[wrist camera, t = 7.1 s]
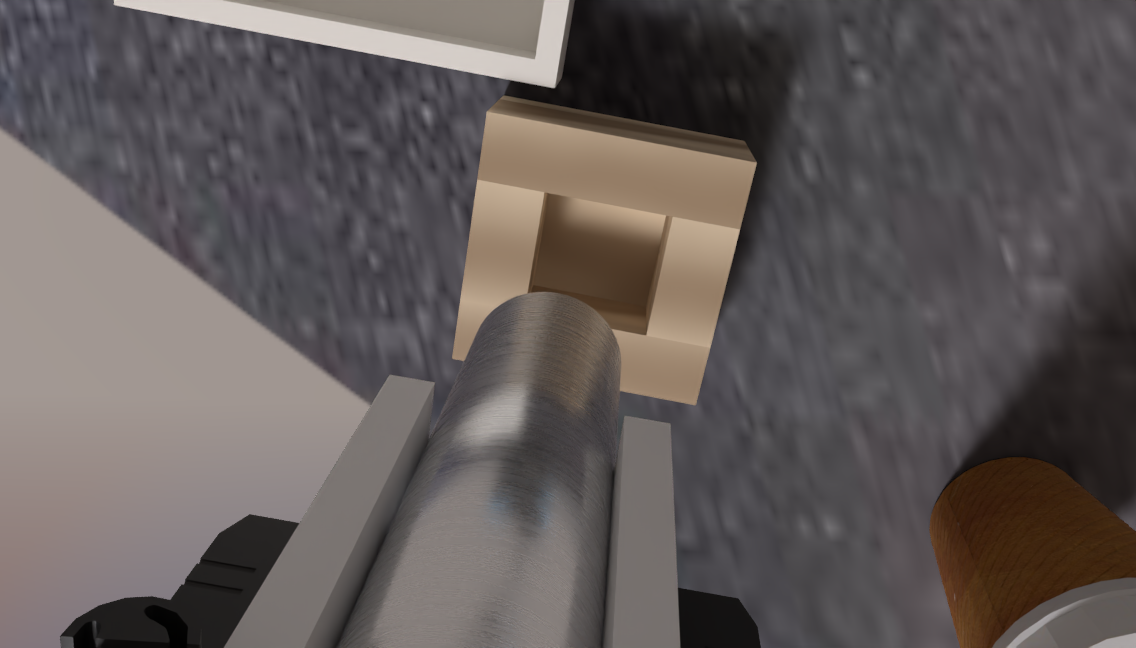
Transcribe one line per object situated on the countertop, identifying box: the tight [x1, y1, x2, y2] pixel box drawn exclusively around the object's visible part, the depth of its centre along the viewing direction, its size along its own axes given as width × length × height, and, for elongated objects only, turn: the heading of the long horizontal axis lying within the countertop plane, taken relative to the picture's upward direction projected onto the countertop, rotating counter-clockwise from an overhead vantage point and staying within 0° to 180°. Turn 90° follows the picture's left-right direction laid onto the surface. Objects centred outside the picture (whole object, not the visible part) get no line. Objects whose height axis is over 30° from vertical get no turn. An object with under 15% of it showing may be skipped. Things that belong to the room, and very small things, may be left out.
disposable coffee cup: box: [929, 457, 1136, 648], centre depth 34 cm, size 10×10×12 cm
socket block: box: [452, 95, 757, 405], centre depth 34 cm, size 9×9×4 cm
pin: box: [336, 292, 621, 648], centre depth 14 cm, size 3×3×12 cm
